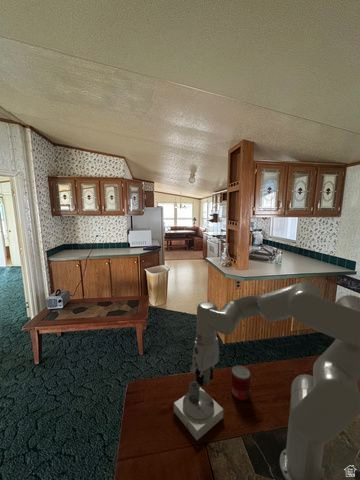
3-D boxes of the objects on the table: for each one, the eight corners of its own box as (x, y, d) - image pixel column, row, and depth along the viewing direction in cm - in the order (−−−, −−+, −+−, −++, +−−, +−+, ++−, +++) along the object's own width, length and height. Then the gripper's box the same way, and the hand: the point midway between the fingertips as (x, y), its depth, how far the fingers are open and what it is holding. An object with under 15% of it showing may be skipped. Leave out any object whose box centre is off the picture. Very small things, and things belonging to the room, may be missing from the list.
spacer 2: (212, 382, 81) (213, 367, 80) (204, 387, 78) (204, 372, 77) (204, 374, 84) (204, 360, 83) (196, 380, 81) (196, 365, 80)
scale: (222, 417, 84) (223, 408, 84) (196, 441, 75) (196, 430, 75) (198, 393, 95) (199, 385, 94) (173, 411, 86) (173, 402, 86)
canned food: (250, 402, 91) (251, 379, 90) (231, 399, 93) (232, 376, 91) (248, 388, 99) (249, 366, 97) (230, 385, 100) (231, 364, 99)
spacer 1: (201, 399, 86) (201, 385, 86) (193, 405, 84) (193, 391, 83) (194, 391, 90) (194, 378, 89) (186, 397, 87) (186, 384, 86)
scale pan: (220, 407, 84) (220, 405, 84) (197, 426, 76) (197, 424, 76) (199, 386, 93) (199, 385, 93) (176, 402, 86) (176, 400, 86)
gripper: (196, 350, 70) (194, 398, 73) (228, 333, 81) (226, 376, 83) (182, 339, 76) (181, 384, 79) (214, 324, 86) (212, 365, 89)
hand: (204, 379), depth 81 cm, fingers closed on spacer 2, 4 cm apart
